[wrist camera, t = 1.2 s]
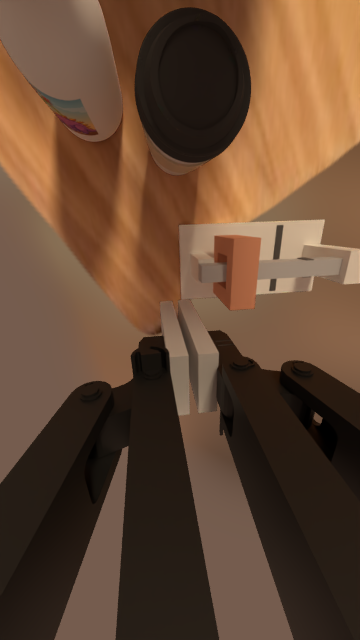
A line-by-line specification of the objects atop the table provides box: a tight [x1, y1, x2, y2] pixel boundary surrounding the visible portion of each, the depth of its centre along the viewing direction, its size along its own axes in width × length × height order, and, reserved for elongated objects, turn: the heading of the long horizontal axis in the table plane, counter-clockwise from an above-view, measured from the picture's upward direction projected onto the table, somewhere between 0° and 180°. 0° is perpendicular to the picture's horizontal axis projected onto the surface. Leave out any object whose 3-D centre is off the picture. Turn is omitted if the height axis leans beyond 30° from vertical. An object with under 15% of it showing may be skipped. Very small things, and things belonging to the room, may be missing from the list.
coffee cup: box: [135, 8, 251, 175], centre depth 23 cm, size 9×9×15 cm
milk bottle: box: [0, 0, 123, 142], centre depth 18 cm, size 8×8×20 cm
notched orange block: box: [213, 235, 261, 310], centre depth 30 cm, size 8×3×8 cm, turn 2°
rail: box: [179, 220, 360, 300], centre depth 32 cm, size 11×22×10 cm, turn 92°
